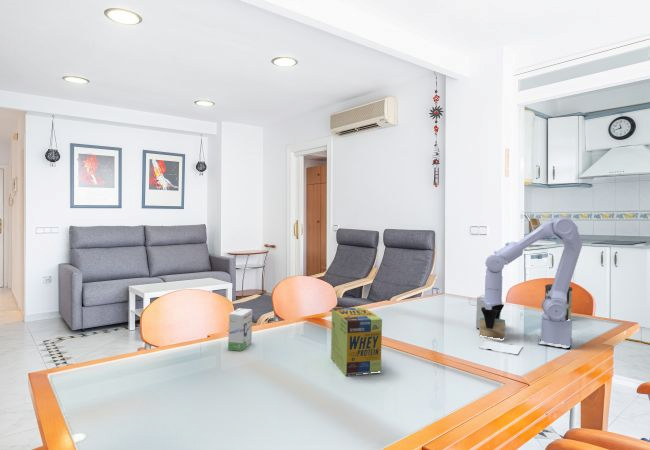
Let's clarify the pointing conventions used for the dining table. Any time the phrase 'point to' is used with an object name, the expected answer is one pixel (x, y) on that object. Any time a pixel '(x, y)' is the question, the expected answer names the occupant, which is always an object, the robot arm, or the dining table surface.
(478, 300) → the supplement box
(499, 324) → the slab
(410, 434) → the dining table surface
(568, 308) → the coffee can
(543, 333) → the robot arm
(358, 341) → the protein box
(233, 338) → the ink box
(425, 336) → the dining table surface
